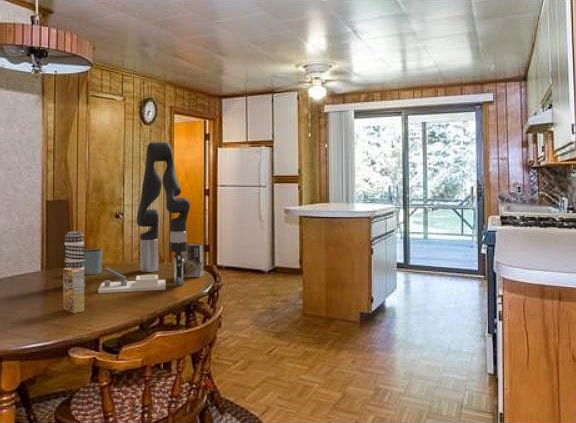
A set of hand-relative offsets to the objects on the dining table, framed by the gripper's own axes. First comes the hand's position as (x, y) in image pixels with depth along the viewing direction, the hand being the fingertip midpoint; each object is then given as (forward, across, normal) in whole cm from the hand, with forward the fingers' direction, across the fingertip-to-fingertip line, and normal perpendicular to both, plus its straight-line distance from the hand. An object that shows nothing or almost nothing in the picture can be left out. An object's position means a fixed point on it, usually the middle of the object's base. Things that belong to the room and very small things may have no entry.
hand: (178, 275), depth 213 cm
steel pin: (+4, 0, 0) cm, 5 cm away
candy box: (+5, +34, -39) cm, 52 cm away
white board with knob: (+4, 0, -20) cm, 21 cm away
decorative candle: (+5, -10, -46) cm, 47 cm away
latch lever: (-1, 0, -28) cm, 28 cm away
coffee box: (+5, -21, +8) cm, 23 cm away
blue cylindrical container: (+4, -42, -43) cm, 60 cm away
